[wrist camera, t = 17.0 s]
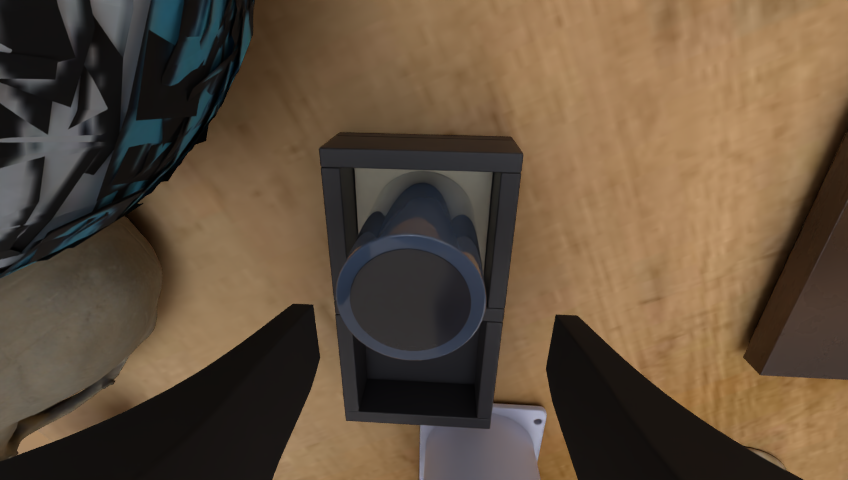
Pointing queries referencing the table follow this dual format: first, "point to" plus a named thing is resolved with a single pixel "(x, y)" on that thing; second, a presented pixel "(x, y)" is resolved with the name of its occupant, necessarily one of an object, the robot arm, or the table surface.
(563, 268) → the table surface
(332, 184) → the rack
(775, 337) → the shelf
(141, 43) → the decorative sphere
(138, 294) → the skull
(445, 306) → the tumbler
